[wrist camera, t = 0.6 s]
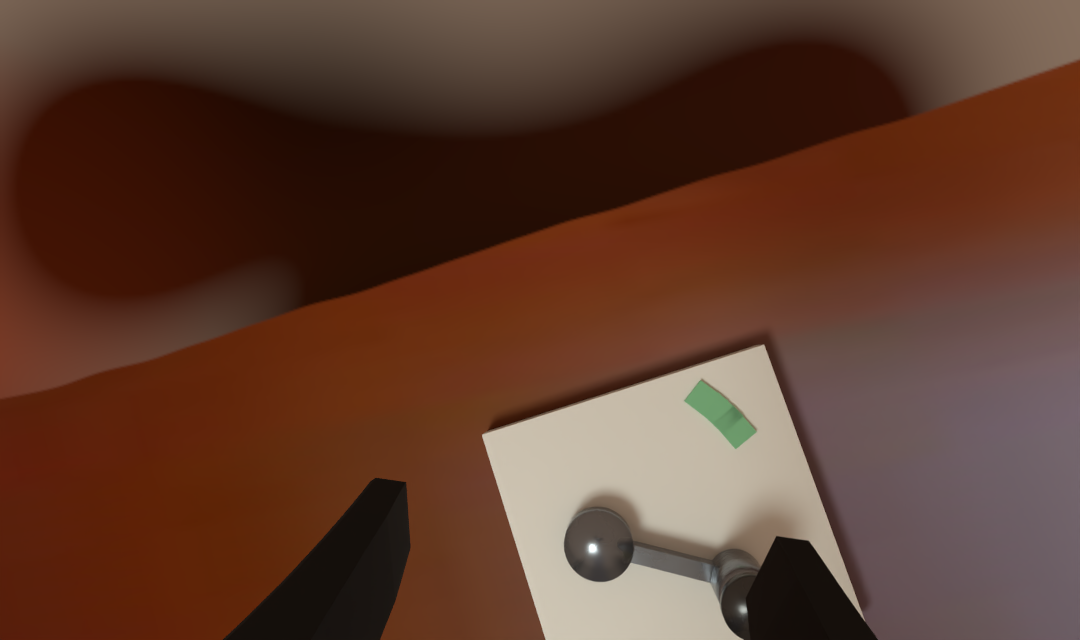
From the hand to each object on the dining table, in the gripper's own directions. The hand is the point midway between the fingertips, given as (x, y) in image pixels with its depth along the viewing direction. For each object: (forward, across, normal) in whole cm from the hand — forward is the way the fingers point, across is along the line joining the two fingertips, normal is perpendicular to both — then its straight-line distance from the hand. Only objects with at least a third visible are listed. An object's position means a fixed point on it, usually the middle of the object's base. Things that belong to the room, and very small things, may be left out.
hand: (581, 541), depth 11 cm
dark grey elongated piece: (+14, -7, +19) cm, 24 cm away
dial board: (+16, -7, +18) cm, 25 cm away
